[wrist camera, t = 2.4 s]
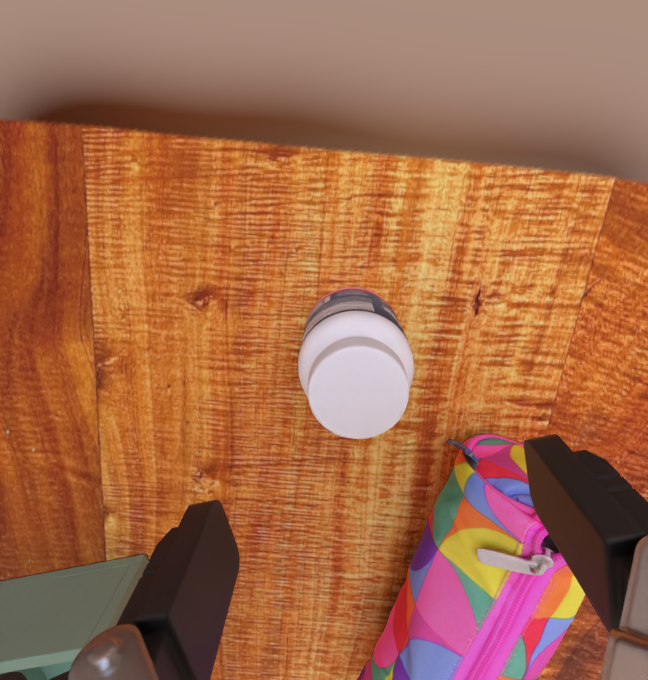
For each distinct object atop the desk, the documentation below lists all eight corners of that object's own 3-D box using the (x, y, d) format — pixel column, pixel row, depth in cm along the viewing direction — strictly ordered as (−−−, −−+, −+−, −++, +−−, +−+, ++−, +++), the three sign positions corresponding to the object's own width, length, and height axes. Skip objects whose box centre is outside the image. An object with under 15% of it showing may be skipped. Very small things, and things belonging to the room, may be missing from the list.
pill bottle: (404, 364, 27) (435, 444, 19) (316, 381, 27) (308, 466, 19) (389, 276, 25) (416, 319, 17) (296, 295, 26) (277, 346, 17)
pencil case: (440, 396, 28) (486, 490, 19) (587, 435, 28) (697, 543, 20) (340, 655, 34) (341, 812, 26) (461, 683, 35) (501, 845, 26)
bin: (59, 696, 36) (-1, 806, 30) (-7, 582, 33) (-92, 678, 26) (199, 674, 35) (169, 783, 29) (145, 553, 32) (96, 646, 25)
